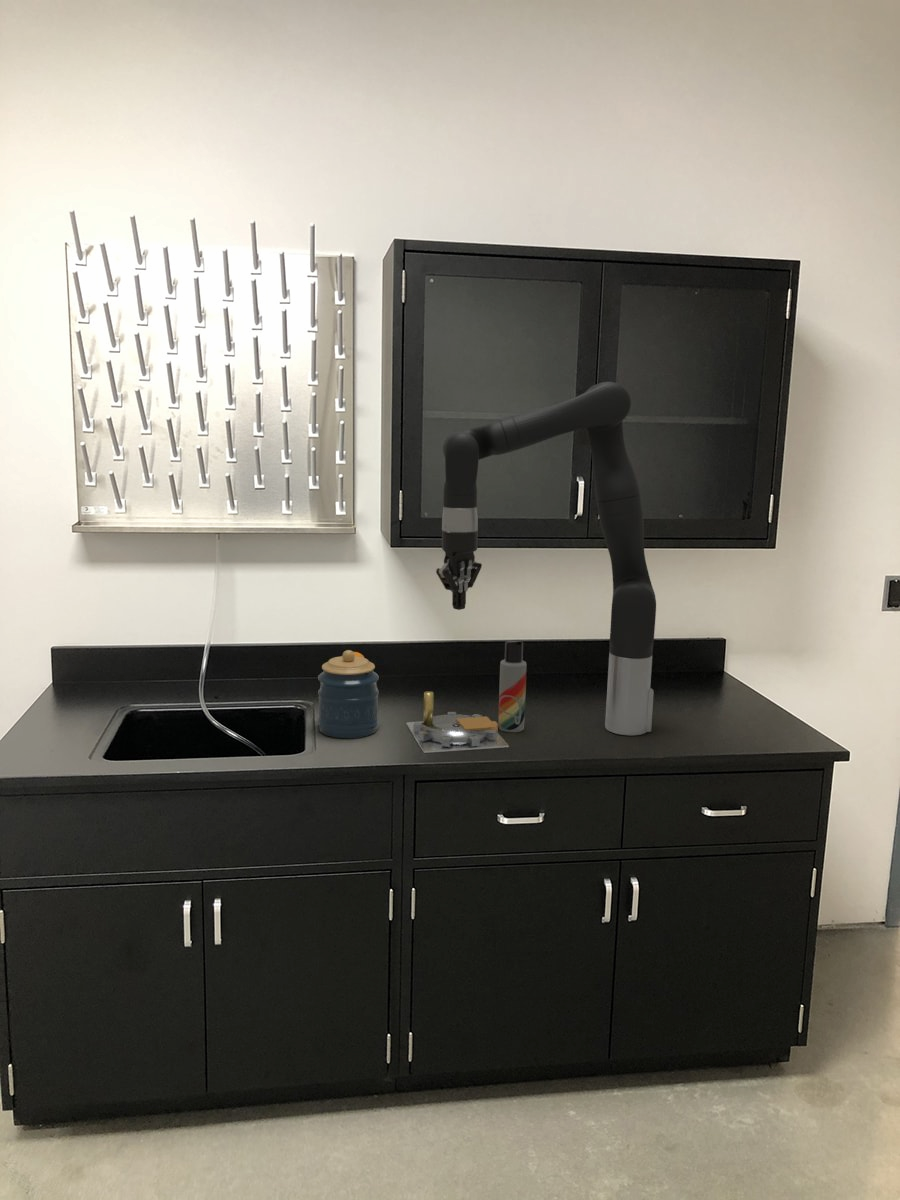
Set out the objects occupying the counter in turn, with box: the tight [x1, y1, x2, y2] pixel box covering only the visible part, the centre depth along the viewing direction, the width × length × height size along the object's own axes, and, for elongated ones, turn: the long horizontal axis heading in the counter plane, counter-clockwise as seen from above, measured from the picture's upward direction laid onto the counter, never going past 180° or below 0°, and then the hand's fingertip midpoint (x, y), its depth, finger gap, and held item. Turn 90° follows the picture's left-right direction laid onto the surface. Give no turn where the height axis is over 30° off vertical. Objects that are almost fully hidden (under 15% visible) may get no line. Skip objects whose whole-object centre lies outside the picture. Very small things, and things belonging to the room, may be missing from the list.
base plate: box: [406, 720, 510, 754], centre depth 201 cm, size 18×18×1 cm
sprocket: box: [413, 691, 499, 747], centre depth 200 cm, size 18×18×8 cm
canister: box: [317, 649, 380, 739], centre depth 201 cm, size 13×13×18 cm
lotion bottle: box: [497, 639, 527, 733], centre depth 204 cm, size 6×6×20 cm
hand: (458, 608), depth 201 cm, fingers closed
